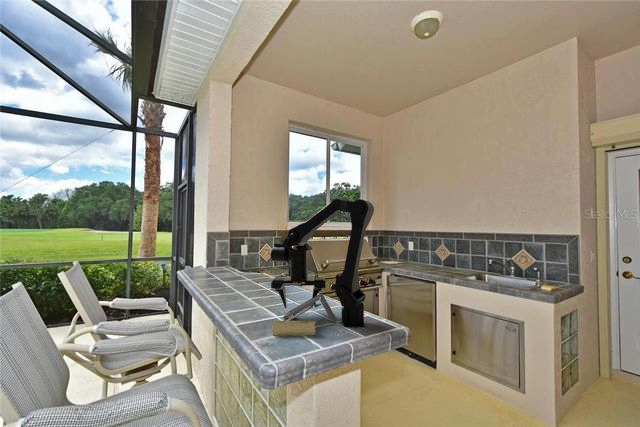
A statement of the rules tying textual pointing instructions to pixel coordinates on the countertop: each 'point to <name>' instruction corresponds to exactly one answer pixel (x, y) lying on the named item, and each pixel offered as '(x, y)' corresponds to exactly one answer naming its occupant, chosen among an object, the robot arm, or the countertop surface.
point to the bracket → (308, 305)
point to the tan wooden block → (293, 328)
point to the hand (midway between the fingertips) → (298, 307)
